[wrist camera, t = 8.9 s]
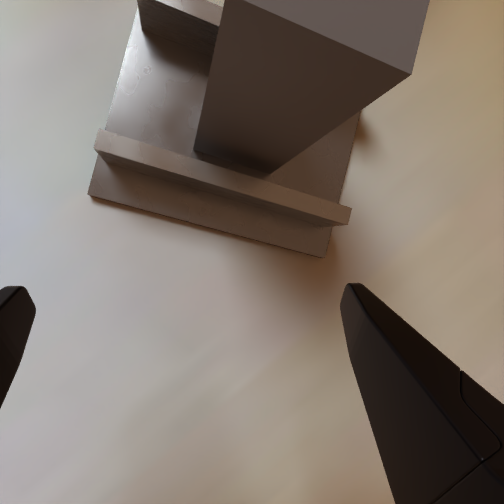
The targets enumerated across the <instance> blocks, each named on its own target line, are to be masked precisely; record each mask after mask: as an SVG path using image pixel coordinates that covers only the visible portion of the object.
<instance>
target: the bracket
mask: <svg viewBox="0 0 504 504" xmlns="http://www.w3.org/2000/svg"><path fill="white" fill-rule="evenodd" d="M137 2H138V9H137V12H136V16H135V20H134V23H133V27H132V31H131V34H130V38H129V42H128V46H127V49H126V53H125V57H124V60H123V64H122V68H121V72H120V75H119V79H118V83H117V86H116V90H115V94H114V97H113V101H112V105H111V109H110V112H109V116H108V120H107V123H106V127H105V130H102V129H99V130H98V134H97V138H96V141H95V145H94V149H95V151H96V152H97V153H98V157H97V160H96V164H95V168H94V172H93V175H92V179H91V183H90V186H89V190H88V195H90V196H94V197H97V198H101V199H105V200H109V201H112V202H116V203H120V204H123V205H127V206H131V207H135V208H138V209H142V210H146V211H149V212H153V213H157V214H160V215H164V216H168V217H172V218H175V219H179V220H183V221H186V222H190V223H194V224H198V225H201V226H205V227H209V228H212V229H216V230H220V231H224V232H227V233H231V234H235V235H238V236H242V237H246V238H249V239H253V240H257V241H261V242H264V243H268V244H272V245H275V246H279V247H283V248H287V249H290V250H294V251H298V252H301V253H305V254H309V255H313V256H316V257H320V258H325V254H326V250H327V246H328V242H329V238H330V234H331V230H332V226H342V225H348V222H349V218H350V214H351V210H352V208H350V207H347V206H343V205H340V204H338V201H339V197H340V193H341V189H342V185H343V181H344V177H345V173H346V169H347V165H348V161H349V157H350V152H351V148H352V144H353V140H354V136H355V132H356V128H357V124H358V120H359V116H360V112H361V110H360V111H359V112H358V113H356V114H355V115H353V116H352V117H351V118H349V119H348V120H346V121H345V122H344V123H342V124H341V125H339V126H338V127H336V128H335V129H334V130H332V131H331V132H329V133H328V134H327V135H325V136H324V137H322V138H321V139H319V140H318V141H317V142H315V143H314V144H312V145H311V146H310V147H308V148H307V149H305V150H304V151H302V152H301V153H300V154H298V155H297V156H295V157H294V158H293V159H291V160H290V161H288V162H287V163H286V164H284V165H283V166H281V167H280V168H278V169H277V170H276V171H274V172H273V173H271V174H268V173H265V172H261V171H258V170H255V169H252V168H249V167H246V166H243V165H240V164H237V163H234V162H231V161H227V160H224V159H221V158H218V157H215V156H212V155H209V154H206V153H203V152H200V151H197V150H193V147H194V143H195V138H196V133H197V129H198V124H199V119H200V115H201V110H202V105H203V100H204V96H205V91H206V86H207V82H208V77H209V72H210V67H211V63H212V58H213V53H214V49H215V44H216V39H217V35H218V30H219V25H220V20H221V16H222V11H223V7H220V6H218V5H216V4H213V3H211V2H209V1H206V0H137Z"/></svg>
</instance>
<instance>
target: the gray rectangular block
mask: <svg viewBox="0 0 504 504" xmlns="http://www.w3.org/2000/svg"><path fill="white" fill-rule="evenodd" d="M429 1H430V0H225V2H224V6H223V11H222V16H221V20H220V25H219V30H218V35H217V39H216V44H215V49H214V53H213V58H212V63H211V67H210V72H209V77H208V82H207V86H206V91H205V96H204V100H203V105H202V110H201V115H200V119H199V124H198V129H197V133H196V138H195V143H194V147H193V150H197V151H200V152H203V153H206V154H209V155H212V156H215V157H218V158H221V159H224V160H227V161H231V162H234V163H237V164H240V165H243V166H246V167H249V168H252V169H255V170H258V171H261V172H265V173H268V174H271V173H273V172H274V171H276V170H277V169H278V168H280V167H281V166H283V165H284V164H286V163H287V162H288V161H290V160H291V159H293V158H294V157H295V156H297V155H298V154H300V153H301V152H302V151H304V150H305V149H307V148H308V147H310V146H311V145H312V144H314V143H315V142H317V141H318V140H319V139H321V138H322V137H324V136H325V135H327V134H328V133H329V132H331V131H332V130H334V129H335V128H336V127H338V126H339V125H341V124H342V123H344V122H345V121H346V120H348V119H349V118H351V117H352V116H353V115H355V114H356V113H358V112H359V111H360V110H362V109H363V108H365V107H366V106H368V105H369V104H370V103H372V102H373V101H375V100H376V99H377V98H379V97H380V96H382V95H383V94H385V93H386V92H387V91H389V90H390V89H392V88H393V87H394V86H396V85H397V84H399V83H400V82H402V81H403V80H404V79H406V78H407V77H409V76H410V75H411V74H412V70H413V66H414V62H415V58H416V54H417V50H418V46H419V41H420V37H421V33H422V29H423V25H424V21H425V17H426V13H427V9H428V5H429Z"/></svg>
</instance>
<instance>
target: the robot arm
mask: <svg viewBox="0 0 504 504" xmlns="http://www.w3.org/2000/svg"><path fill="white" fill-rule="evenodd" d="M340 310H341V316H342V321H343V326H344V331H345V337H346V342H347V347H348V352H349V357H350V360H351V364H352V367H353V370H354V373H355V377H356V380H357V383H358V386H359V389H360V393H361V396H362V399H363V402H364V405H365V409H366V412H367V415H368V418H369V421H370V424H371V428H372V431H373V434H374V437H375V440H376V444H377V447H378V450H379V453H380V456H381V460H382V463H383V466H384V469H385V472H386V475H387V479H388V482H389V485H390V488H391V491H392V495H393V498H394V501H395V504H504V404H503V403H501V402H500V401H499V400H497V399H496V398H495V397H494V396H492V395H491V394H490V393H489V392H488V391H486V390H485V389H484V388H483V387H482V386H480V385H479V384H478V383H477V382H475V381H474V380H473V379H472V378H471V377H470V376H469V375H467V374H466V373H465V372H464V371H462V370H461V371H460V368H459V367H458V366H457V365H456V364H454V363H453V362H452V361H451V360H450V359H449V358H447V357H446V356H445V355H444V354H443V353H442V352H441V351H439V350H438V349H437V348H436V347H435V346H434V345H432V344H431V343H430V342H429V341H428V340H427V339H425V338H424V337H423V336H422V335H421V334H420V333H418V332H417V331H416V330H415V329H414V328H413V327H412V326H410V325H409V324H408V323H407V322H406V321H405V320H403V319H402V318H401V317H400V316H399V315H398V314H396V313H395V312H394V311H393V310H392V309H391V308H389V307H388V306H387V305H386V304H385V303H384V302H382V301H381V300H380V299H379V298H378V297H377V296H376V295H374V294H373V293H372V292H371V291H370V290H369V289H367V288H366V287H365V286H364V285H363V284H361V283H348V284H347V285H346V287H345V289H344V293H343V296H342V299H341V303H340ZM35 314H36V308H35V305H34V303H33V301H32V299H31V297H30V295H29V293H28V291H27V289H26V288H25V287H23V286H7V287H4V288H3V289H1V290H0V408H1V406H2V404H3V401H4V399H5V397H6V395H7V392H8V390H9V388H10V386H11V383H12V381H13V379H14V376H15V374H16V372H17V369H18V367H19V365H20V362H21V359H22V356H23V353H24V350H25V346H26V343H27V340H28V337H29V334H30V330H31V327H32V324H33V321H34V318H35Z"/></svg>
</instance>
